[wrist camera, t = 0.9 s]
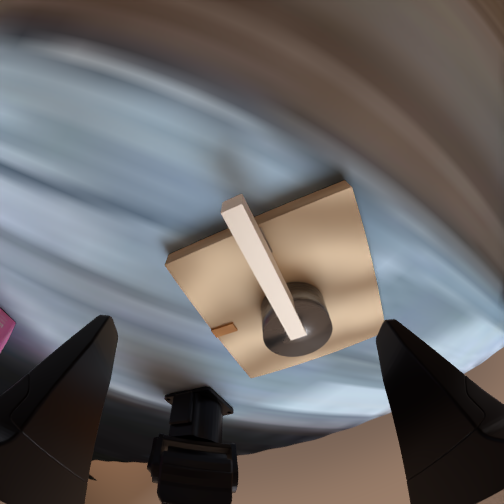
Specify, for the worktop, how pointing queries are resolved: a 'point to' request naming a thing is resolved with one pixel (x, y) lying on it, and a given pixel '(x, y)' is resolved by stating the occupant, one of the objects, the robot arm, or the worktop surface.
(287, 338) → the wooden latch lever
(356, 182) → the worktop surface
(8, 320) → the gum box
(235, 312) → the board
